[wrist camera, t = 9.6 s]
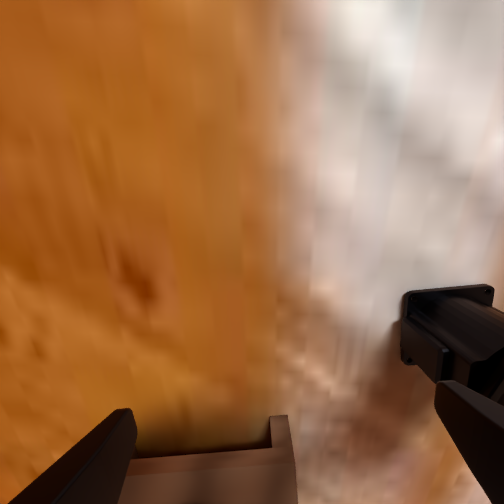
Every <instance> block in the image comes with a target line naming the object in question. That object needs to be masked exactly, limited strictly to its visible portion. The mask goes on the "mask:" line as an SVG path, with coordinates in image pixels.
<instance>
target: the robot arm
mask: <svg viewBox="0 0 504 504" xmlns="http://www.w3.org/2000/svg"><path fill="white" fill-rule="evenodd" d="M485 290H486V291H485ZM413 296H414V298H413V299H411V298H412V297H413ZM493 297H494V288H493V287H492V286H490V285H487V284H478V285H467V286H456V287H445V288H435V289H424V290H413V291H409V292H407V293H406V295H405V301H404V315H403V319H402V327H401V342H400V346H401V360H402V361H403V362H404V364H406V365H418V366H419V367H420V368H421V369H422V370H423V372H424V373H425V374H426V375H427V376H428V377H429V378H430V379H431V380H432V381H433V382H434V383H435V384H436V390H435V399H434V407H435V410H436V412H437V414H438V416H439V418H440V419H441V421H442V423H443V424H444V426H445V428H446V430H447V431H448V433H449V435H450V436H451V438H452V440H453V441H454V443H455V445H456V447H457V448H458V450H459V452H460V453H461V455H462V457H463V458H464V460H465V462H466V464H467V465H468V467H469V469H470V470H471V472H472V473H473V475H474V477H475V478H476V480H477V481H478V482H479V484H480V485H481V487H482V488H483V490H484V492H485V493H486V495H487V496H488V498H489V500H490V501H491V503H492V504H504V312H502V311H500V310H498V309H496V308H494V307H492V303H493ZM408 358H409V359H408ZM136 439H137V426H136V423H135V419H134V415H133V412H132V410H131V409H130V408H123V409H117V410H115V411H113V412H112V413H111V414H110V415H109V416H108V417H106V418H105V419H104V420H103V421H102V422H101V423H100V424H98V425H97V426H96V427H95V428H94V429H93V430H92V431H90V432H89V433H88V434H87V435H86V436H85V437H84V438H82V439H81V440H80V441H79V442H78V443H77V444H75V445H74V446H73V447H72V448H71V449H70V450H69V451H67V452H66V453H65V454H64V455H63V456H62V457H61V458H59V459H58V460H57V461H56V462H55V463H54V464H53V465H51V466H50V467H49V468H48V469H47V470H46V471H44V472H43V473H42V474H41V475H40V476H39V477H38V478H36V479H35V480H34V481H33V482H32V483H31V484H30V485H28V486H27V487H26V488H25V489H24V490H23V491H22V492H20V493H19V494H18V495H17V496H16V497H15V498H13V499H12V500H11V501H10V502H9V503H8V504H118V501H119V498H120V495H121V491H122V488H123V484H124V481H125V477H126V474H127V470H128V467H129V463H130V460H131V456H132V453H133V449H134V446H135V442H136Z"/></svg>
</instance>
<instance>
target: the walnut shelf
mask: <svg viewBox="0 0 504 504" xmlns="http://www.w3.org/2000/svg"><path fill="white" fill-rule="evenodd" d="M270 426H271V438H272V448H266V449H254V450H242V451H230V452H217V453H205V454H193V455H181V456H168V457H156V458H144V459H139V457H138V454H137V451H136V447H135V446H134V449H133V453H132V456H131V460H130V463H129V467H128V470H127V474H126V477H125V481H124V484H123V488H122V491H121V495H120V498H119V501H118V504H298V497H297V483H296V469H295V459H294V453H293V447H292V441H291V434H290V428H289V422H288V416H287V415H281V416H270Z"/></svg>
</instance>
